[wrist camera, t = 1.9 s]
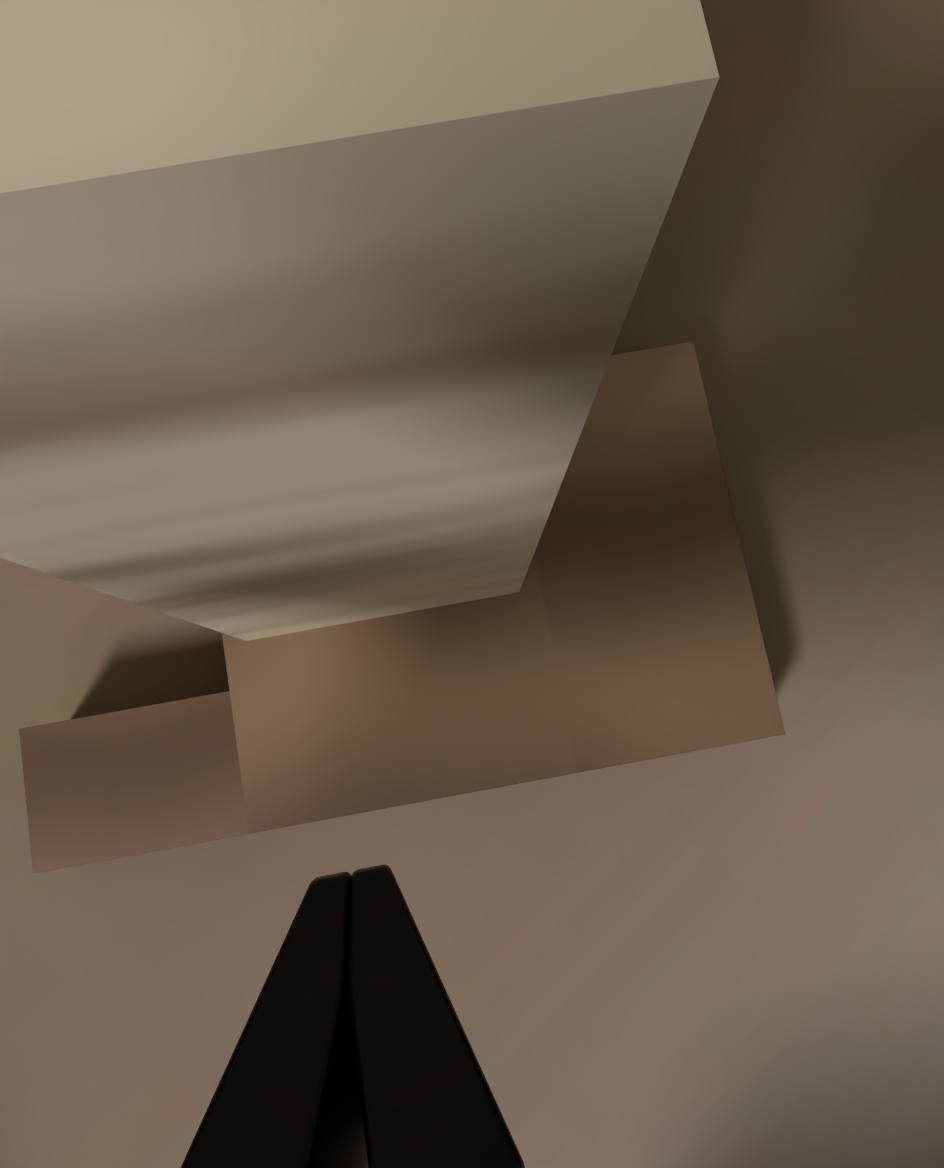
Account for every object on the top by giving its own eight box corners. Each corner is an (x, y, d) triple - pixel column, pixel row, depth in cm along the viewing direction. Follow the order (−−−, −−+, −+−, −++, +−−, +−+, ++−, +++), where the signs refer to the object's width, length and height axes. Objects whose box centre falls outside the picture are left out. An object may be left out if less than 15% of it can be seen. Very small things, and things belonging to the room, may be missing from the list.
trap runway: (753, 732, 20) (847, 737, 15) (77, 857, 19) (-56, 905, 15) (554, -141, 24) (576, -367, 19) (-18, -54, 23) (-150, -261, 18)
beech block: (519, 592, 18) (719, 77, 4) (246, 640, 18) (-725, 312, 3) (454, 257, 20) (407, -1159, 5) (198, 300, 19) (-671, -1035, 5)
